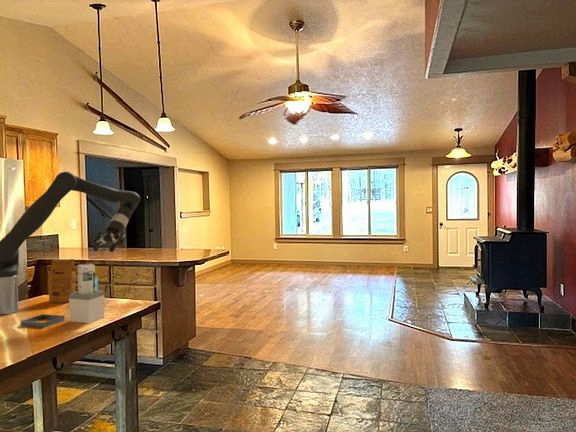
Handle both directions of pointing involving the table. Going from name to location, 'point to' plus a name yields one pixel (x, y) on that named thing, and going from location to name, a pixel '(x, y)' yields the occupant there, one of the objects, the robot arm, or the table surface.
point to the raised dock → (86, 307)
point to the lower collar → (52, 320)
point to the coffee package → (61, 280)
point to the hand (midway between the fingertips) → (102, 250)
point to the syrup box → (86, 279)
